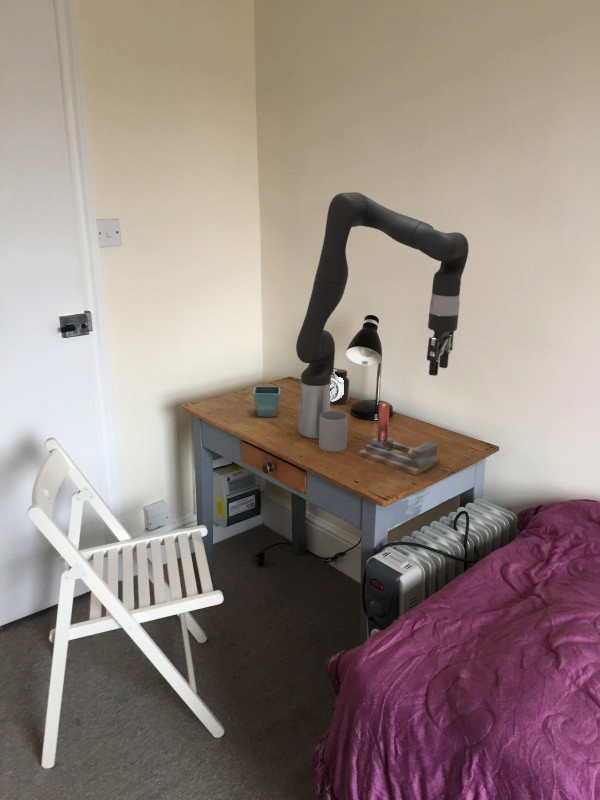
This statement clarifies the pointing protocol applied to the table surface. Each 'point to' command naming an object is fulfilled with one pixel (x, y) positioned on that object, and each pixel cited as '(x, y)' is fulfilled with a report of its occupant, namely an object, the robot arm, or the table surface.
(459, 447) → the table surface
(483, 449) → the table surface
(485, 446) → the table surface
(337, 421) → the cup
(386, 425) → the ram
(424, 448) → the machine vise
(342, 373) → the supplement bottle
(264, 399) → the flower pot
